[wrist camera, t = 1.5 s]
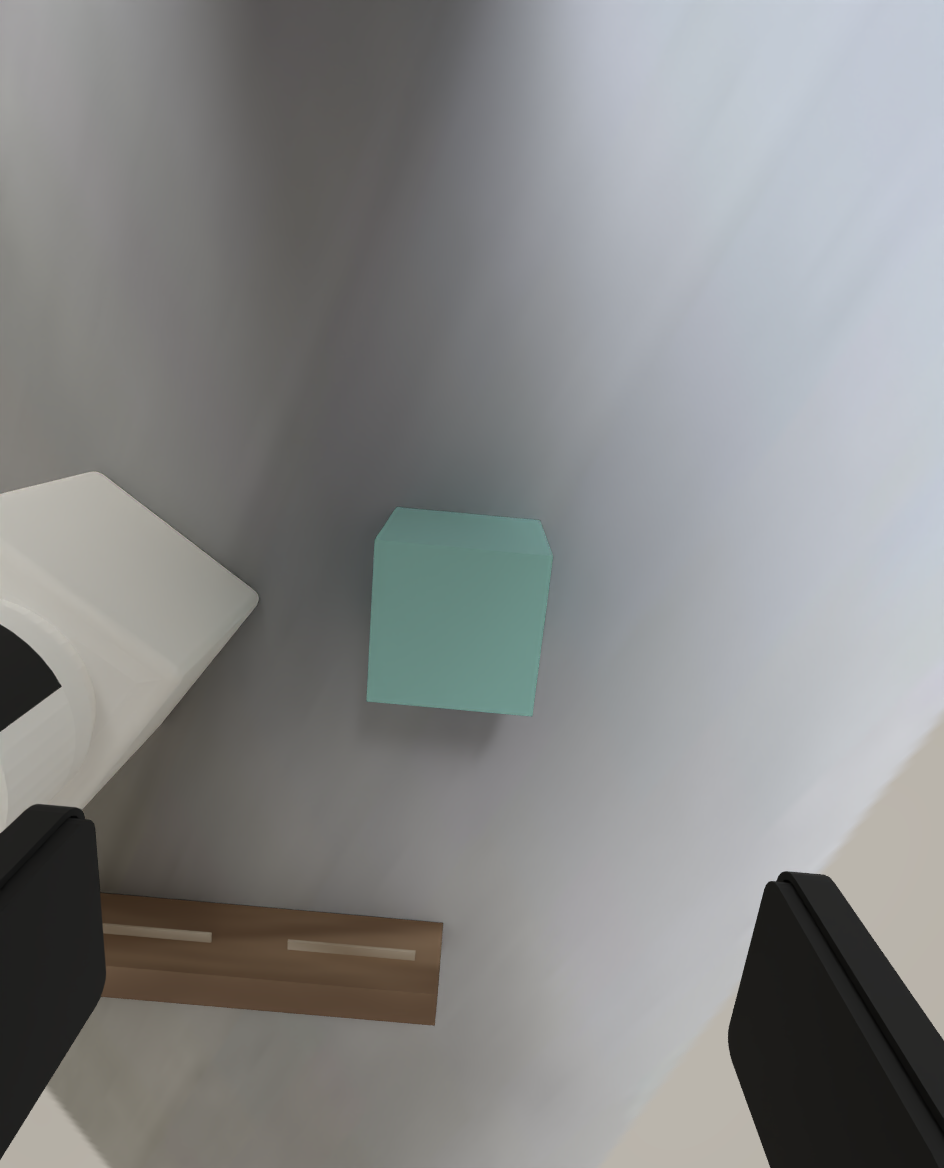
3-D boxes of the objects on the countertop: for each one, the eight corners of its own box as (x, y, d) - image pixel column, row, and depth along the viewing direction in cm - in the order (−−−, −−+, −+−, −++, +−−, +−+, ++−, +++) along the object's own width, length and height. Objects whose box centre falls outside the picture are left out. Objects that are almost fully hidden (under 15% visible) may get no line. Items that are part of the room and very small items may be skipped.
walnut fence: (38, 879, 29) (-22, 946, 25) (443, 915, 29) (438, 986, 25) (42, 916, 29) (-15, 986, 26) (440, 951, 29) (434, 1025, 26)
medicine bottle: (-5, 613, 25) (-412, 812, 14) (97, 465, 24) (-271, 551, 12) (158, 727, 27) (-91, 997, 15) (266, 594, 25) (77, 784, 13)
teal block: (397, 506, 24) (374, 539, 19) (539, 519, 24) (553, 556, 19) (389, 639, 25) (366, 701, 21) (523, 652, 25) (532, 716, 21)
